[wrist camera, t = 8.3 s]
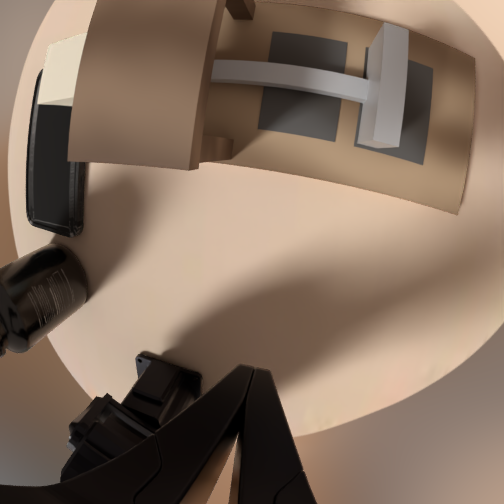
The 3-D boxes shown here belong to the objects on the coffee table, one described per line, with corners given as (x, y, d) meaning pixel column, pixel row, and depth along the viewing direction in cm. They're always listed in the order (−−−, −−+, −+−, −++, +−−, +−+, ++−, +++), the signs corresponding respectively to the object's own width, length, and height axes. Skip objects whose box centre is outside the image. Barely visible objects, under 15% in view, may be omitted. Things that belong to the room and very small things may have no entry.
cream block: (120, 102, 15) (78, 96, 12) (77, 106, 16) (37, 104, 12) (130, 46, 14) (92, 30, 10) (87, 55, 14) (48, 45, 11)
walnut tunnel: (233, 163, 16) (188, 170, 10) (140, 154, 17) (67, 161, 11) (259, 3, 13) (233, -59, 6) (165, 8, 14) (110, -34, 7)
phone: (27, 224, 22) (38, 69, 16) (34, 221, 23) (46, 70, 17) (78, 240, 21) (96, 55, 16) (87, 236, 22) (105, 57, 17)
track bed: (450, 212, 16) (457, 215, 15) (96, 152, 19) (87, 153, 18) (468, 61, 12) (475, 58, 11) (118, 21, 15) (111, 17, 14)
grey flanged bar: (376, 156, 15) (396, 158, 11) (78, 127, 17) (39, 127, 13) (388, 47, 12) (408, 21, 8) (93, 41, 15) (57, 29, 11)
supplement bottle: (46, 228, 22) (-54, 276, 11) (95, 263, 22) (-12, 334, 11) (42, 285, 25) (-38, 339, 14) (86, 320, 25) (6, 392, 13)
